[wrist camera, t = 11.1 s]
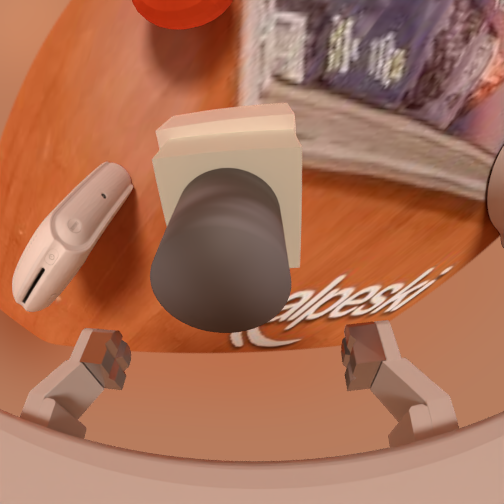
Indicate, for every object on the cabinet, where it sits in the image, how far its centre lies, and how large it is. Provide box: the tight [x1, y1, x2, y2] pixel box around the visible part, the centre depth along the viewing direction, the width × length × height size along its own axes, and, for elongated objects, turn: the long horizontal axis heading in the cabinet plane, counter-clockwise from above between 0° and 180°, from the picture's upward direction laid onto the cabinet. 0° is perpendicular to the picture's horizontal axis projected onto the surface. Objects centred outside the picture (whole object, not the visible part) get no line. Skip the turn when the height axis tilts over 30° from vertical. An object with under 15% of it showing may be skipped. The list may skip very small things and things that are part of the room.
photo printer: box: [12, 161, 133, 312], centre depth 22 cm, size 10×4×12 cm, turn 130°
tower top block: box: [152, 129, 302, 268], centre depth 19 cm, size 8×8×4 cm
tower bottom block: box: [156, 103, 296, 149], centre depth 23 cm, size 9×9×5 cm
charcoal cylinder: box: [150, 168, 291, 333], centre depth 15 cm, size 6×6×6 cm
